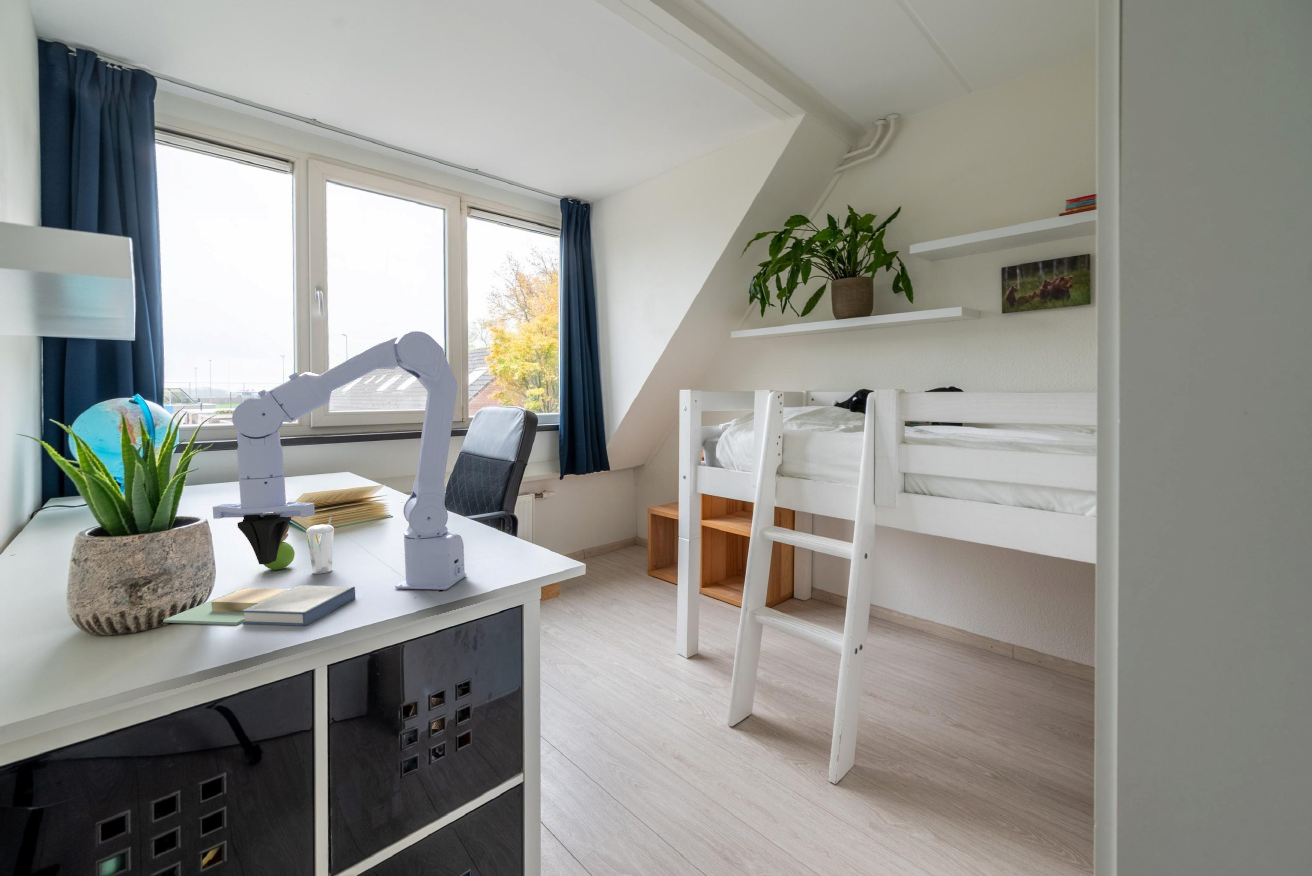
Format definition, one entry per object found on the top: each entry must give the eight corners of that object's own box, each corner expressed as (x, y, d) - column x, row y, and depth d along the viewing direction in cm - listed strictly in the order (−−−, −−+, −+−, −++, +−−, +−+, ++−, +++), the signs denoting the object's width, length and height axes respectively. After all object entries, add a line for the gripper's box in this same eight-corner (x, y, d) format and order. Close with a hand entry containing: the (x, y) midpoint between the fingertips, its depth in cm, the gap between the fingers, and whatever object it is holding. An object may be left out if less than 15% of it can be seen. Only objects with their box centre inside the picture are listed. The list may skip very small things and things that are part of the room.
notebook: (355, 598, 90) (354, 586, 89) (305, 625, 79) (304, 612, 78) (299, 596, 91) (299, 585, 90) (242, 623, 80) (242, 610, 80)
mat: (299, 595, 91) (299, 593, 91) (236, 624, 79) (236, 622, 79) (234, 593, 92) (234, 591, 92) (163, 622, 81) (163, 619, 80)
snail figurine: (249, 574, 103) (245, 512, 102) (279, 564, 109) (276, 505, 109) (273, 575, 102) (269, 512, 101) (302, 565, 108) (298, 506, 107)
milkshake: (344, 566, 107) (341, 516, 106) (325, 575, 102) (322, 523, 101) (322, 566, 108) (320, 516, 107) (302, 575, 102) (299, 522, 102)
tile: (289, 598, 89) (289, 589, 89) (259, 612, 83) (258, 603, 83) (245, 597, 90) (244, 588, 90) (211, 611, 84) (211, 601, 84)
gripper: (324, 472, 88) (329, 554, 89) (235, 473, 88) (241, 555, 89) (295, 478, 81) (301, 567, 82) (198, 480, 81) (205, 569, 82)
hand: (267, 562), depth 85 cm, fingers closed
